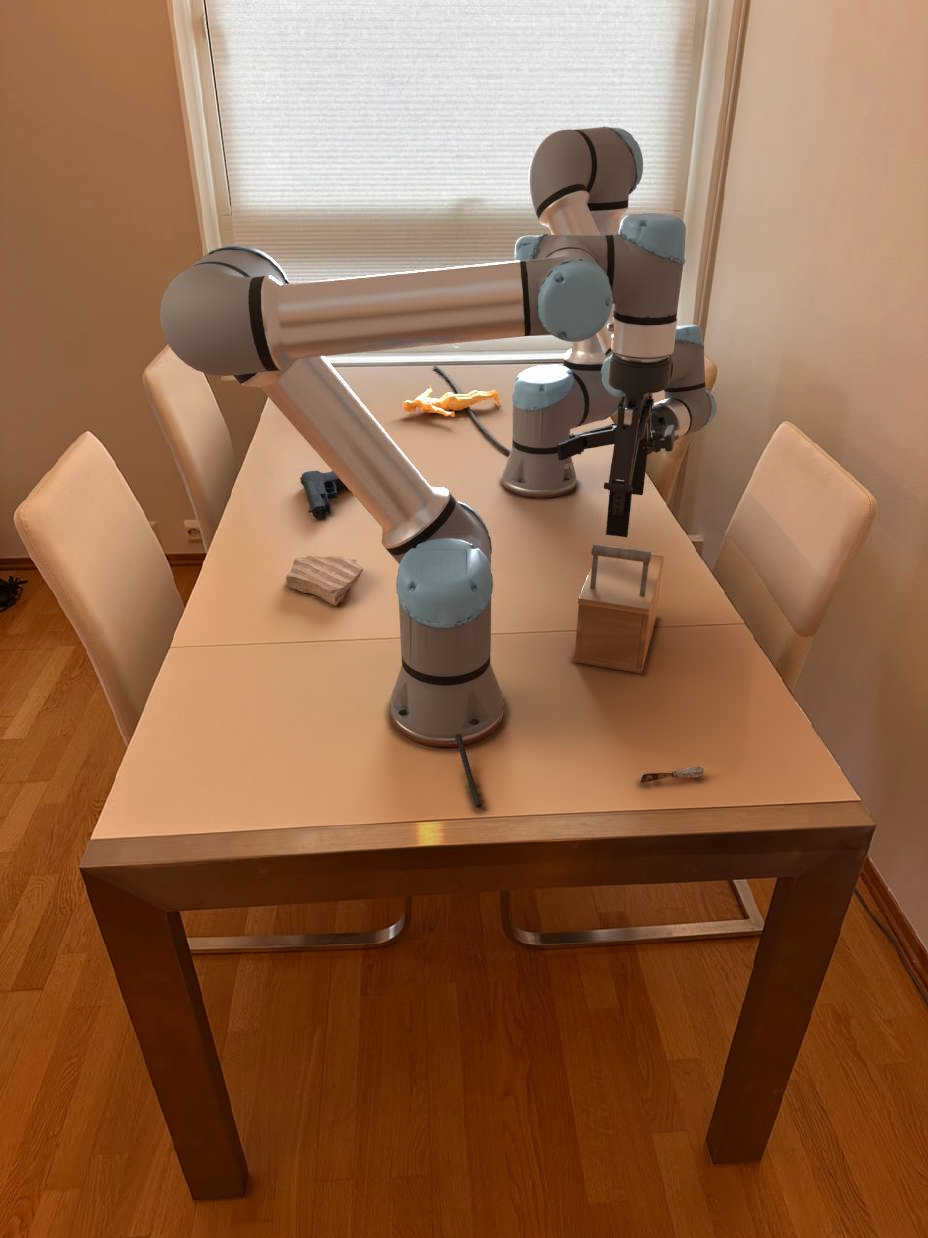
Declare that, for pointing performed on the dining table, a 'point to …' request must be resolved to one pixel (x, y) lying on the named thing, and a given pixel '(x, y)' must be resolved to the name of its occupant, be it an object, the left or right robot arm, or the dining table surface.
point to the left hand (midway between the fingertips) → (625, 513)
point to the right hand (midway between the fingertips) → (592, 453)
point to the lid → (621, 579)
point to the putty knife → (674, 774)
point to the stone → (323, 576)
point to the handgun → (321, 491)
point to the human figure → (448, 402)
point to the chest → (615, 636)
